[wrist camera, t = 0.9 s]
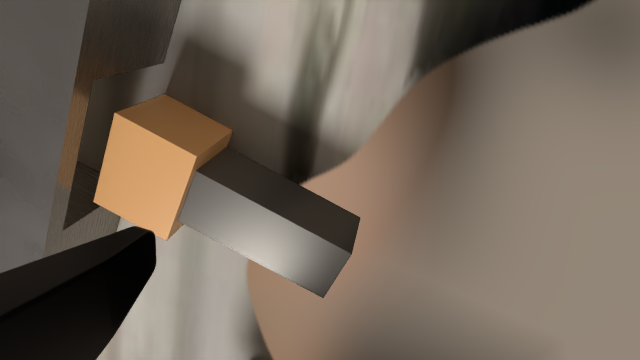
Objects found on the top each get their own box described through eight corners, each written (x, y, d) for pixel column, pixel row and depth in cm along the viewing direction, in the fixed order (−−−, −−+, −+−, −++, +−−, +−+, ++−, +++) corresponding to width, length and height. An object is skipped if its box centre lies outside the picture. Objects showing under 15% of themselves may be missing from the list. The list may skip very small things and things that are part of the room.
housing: (114, 238, 26) (34, 300, 20) (43, 200, 26) (-55, 253, 20) (185, -18, 19) (93, -26, 13) (89, -70, 19) (-43, -99, 13)
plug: (327, 270, 23) (312, 318, 20) (142, 171, 23) (93, 201, 20) (369, 203, 21) (360, 244, 18) (165, 94, 21) (114, 112, 18)
